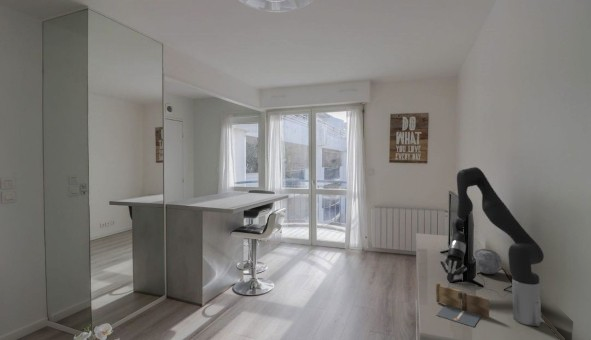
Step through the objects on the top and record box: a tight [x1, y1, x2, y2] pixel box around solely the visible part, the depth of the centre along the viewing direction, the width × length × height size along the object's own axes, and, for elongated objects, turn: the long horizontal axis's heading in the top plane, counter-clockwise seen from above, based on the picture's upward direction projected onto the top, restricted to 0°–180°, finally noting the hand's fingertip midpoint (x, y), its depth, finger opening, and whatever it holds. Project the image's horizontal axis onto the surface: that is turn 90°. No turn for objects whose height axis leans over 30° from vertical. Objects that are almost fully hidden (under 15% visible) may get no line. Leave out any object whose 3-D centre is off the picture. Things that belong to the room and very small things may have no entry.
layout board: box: [436, 304, 483, 328], centre depth 135 cm, size 15×17×1 cm
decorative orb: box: [473, 248, 502, 275], centre depth 181 cm, size 15×14×15 cm
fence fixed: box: [461, 291, 490, 319], centre depth 135 cm, size 11×2×8 cm, turn 46°
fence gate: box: [435, 283, 462, 308], centre depth 142 cm, size 11×2×9 cm, turn 46°
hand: (449, 281), depth 151 cm, fingers closed
